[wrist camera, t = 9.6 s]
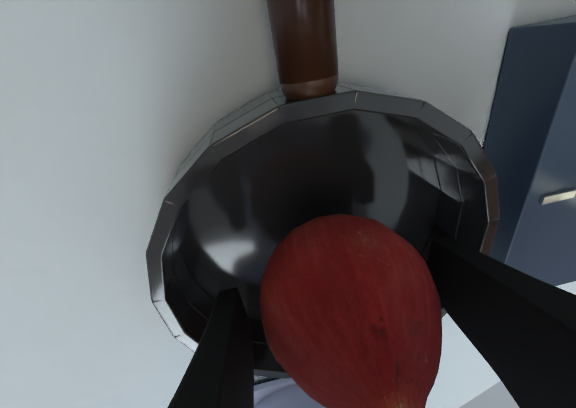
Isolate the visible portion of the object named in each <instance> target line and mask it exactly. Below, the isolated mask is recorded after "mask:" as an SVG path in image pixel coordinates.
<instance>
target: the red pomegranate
mask: <svg viewBox="0 0 576 408" xmlns="http://www.w3.org/2000/svg"><path fill="white" fill-rule="evenodd" d="M259 305H260V312H261V319H262V324H263V329H264V333H265V337H266V342H267V344H268V346H269V348H270V350H271V352H272V354H273V356H274V357H275V359H276V361H277V362H278V363H279V364H280V365H281V366H282V368H283V369H284V370H285V371H286V372H287V373H288V375H289V376H290V377H291V378H292V379H293V380H294V381H295V383H296V384H297V385H298V386H299V387H300V388H301V389H302V390H303V391H304V392H305V393H306V394H307V395H308V396H309V397H310V398H312V399H313V400H315V401H316V402H318V403H319V404H321V405H322V406H324V407H326V408H425V405H426V401H427V397H428V395H429V393H430V391H431V389H432V387H433V385H434V382H435V379H436V376H437V373H438V369H439V363H440V357H441V347H442V318H441V299H440V297H439V294H438V291H437V289H436V286H435V283H434V281H433V278H432V276H431V273H430V271H429V269H428V267H427V265H426V262H425V260H424V259H423V257H422V256H421V255H420V254H419V253H418V251H417V250H416V249H415V248H414V247H413V245H412V244H411V243H409V242H408V241H407V240H405V239H404V238H402V237H401V236H400V235H398V234H397V233H395V232H394V231H393V230H391V229H390V228H388V227H387V226H385V225H383V224H382V223H380V222H379V221H377V220H374V219H369V218H364V217H359V216H354V215H348V214H341V213H340V214H334V215H327V216H321V217H316V218H314V219H312V220H310V221H308V222H306V223H304V224H302V225H300V226H298V227H296V228H294V229H293V230H292V231H291V232H290V233H289V234H288V235H287V236H286V237H285V238H284V239H283V240H282V241H281V242H280V243H279V244H278V245H277V246H276V248H275V249H274V251H273V253H272V255H271V257H270V259H269V261H268V264H267V266H266V269H265V271H264V274H263V277H262V279H261V283H260V297H259Z"/></svg>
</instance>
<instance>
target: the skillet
mask: <svg viewBox="0 0 576 408" xmlns="http://www.w3.org/2000/svg"><path fill="white" fill-rule="evenodd" d="M340 213H341V214H348V215H354V216H359V217H364V218H369V219H374V220H377V221H379V222H380V223H382V224H383V225H385V226H387V227H388V228H390V229H391V230H393V231H394V232H395V233H397V234H398V235H400V236H401V237H402V238H404V239H405V240H407V241H408V242H409V243H411V244H412V245H413V247H414V248H415V249H416V250H417V251H418V253H419V254H420V255H421V256H422V257H423V259H424V260H425V262H426V265H428V258H429V252H430V245H431V240H434V239H438V238H443V237H449V238H451V239H454V240H456V241H458V242H460V243H462V244H465V245H467V246H469V247H471V248H473V249H475V250H477V251H479V252H481V253H483V254H485V255H487V256H489V254H490V250H491V247H492V244H493V240H494V237H495V233H496V230H497V227H498V223H499V220H500V218H499V217H500V208H499V196H498V183H497V174H496V171H495V170H494V168H493V166H492V165H491V163H490V161H489V159H488V158H487V156H486V154H485V153H484V151H483V149H482V147H481V146H480V144H479V142H478V141H477V139H476V137H475V135H474V134H473V133H472V131H471V130H469V129H468V128H466V127H465V126H463V125H462V124H460V123H458V122H457V121H455V120H454V119H452V118H451V117H449V116H448V115H446V114H445V113H443V112H441V111H440V110H438V109H437V108H435V107H434V106H432V105H431V104H429V103H428V102H426V101H423V100H420V99H416V98H412V97H408V96H404V95H400V94H396V93H392V92H388V91H384V90H380V89H375V88H368V87H362V86H356V85H350V84H344V83H337V87H336V89H335V91H334V92H332V93H330V94H327V95H323V96H319V97H314V98H308V99H297V100H292V99H287V98H286V97H285V96H284V94H283V92H282V90H278V91H273V92H269V93H266V94H264V95H263V96H261V97H259V98H257V99H255V100H252V101H250V102H248V103H247V104H245V105H243V106H242V107H240V108H239V109H237V110H235V111H234V112H232V113H230V114H229V115H228V116H226V117H225V118H223V119H222V120H220V121H218V122H217V124H215V125H214V126H213V127H212V128H211V129H210V131H209V132H208V133H207V134H206V135H205V136H204V137H203V138H202V139H201V141H200V142H199V143H198V144H197V145H196V146H195V148H194V149H193V151H192V152H191V153H190V154H189V156H188V157H187V158H186V159H185V160H184V162H183V163H182V164H181V166H180V167H179V169H178V171H177V173H176V175H175V177H174V179H173V182H172V183H171V185H170V187H169V189H168V191H167V193H166V195H165V197H164V199H163V202H162V205H161V208H160V211H159V214H158V217H157V220H156V223H155V226H154V229H153V232H152V235H151V238H150V241H149V244H148V247H147V250H146V261H147V269H148V277H149V286H150V294H151V300H152V303H153V305H154V306H155V308H156V309H157V311H158V313H159V314H160V316H161V317H162V319H163V321H164V322H165V324H166V325H167V327H168V329H169V330H170V332H171V333H172V335H173V336H174V337H175V338H176V339H177V340H179V341H180V342H181V343H183V344H184V345H185V346H187V347H188V348H189V349H191V350H192V351H193V352H195V351H196V349H197V346H198V344H199V342H200V339H201V337H202V335H203V332H204V330H205V327H206V325H207V322H208V320H209V317H210V315H211V312H212V309H213V306H214V304H215V301H216V298H217V295H218V293H219V292H220V291H223V290H228V289H232V288H236V287H237V288H238V291H239V294H240V296H241V299H242V302H243V304H244V307H245V310H246V313H247V315H248V318H249V321H250V323H251V332H252V341H253V352H254V375H255V376H264V377H274V378H285V379H287V378H291V377H290V376H289V375H288V373H287V372H286V371H285V370H284V369H283V368H282V366H281V365H280V364H279V363H278V362H277V361H276V359H275V357H274V356H273V354H272V352H271V350H270V348H269V346H268V344H267V342H266V337H265V333H264V329H263V324H262V319H261V312H260V305H259V297H260V283H261V279H262V277H263V274H264V271H265V269H266V266H267V264H268V261H269V259H270V257H271V255H272V253H273V251H274V249H275V248H276V246H277V245H278V244H279V243H280V242H281V241H282V240H283V239H284V238H285V237H286V236H287V235H288V234H289V233H290V232H291V231H292V230H293V229H294V228H296V227H298V226H300V225H302V224H304V223H306V222H308V221H310V220H312V219H314V218H316V217H321V216H327V215H334V214H340ZM446 313H447V312H446V310H445V309H444V308H443V307H442V305H441V318H442V317H443V316H444V315H445V314H446Z"/></svg>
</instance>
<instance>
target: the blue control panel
mask: <svg viewBox="0 0 576 408" xmlns="http://www.w3.org/2000/svg"><path fill="white" fill-rule="evenodd" d="M483 151H484V153H485V154H486V156H487V158H488V159H489V161H490V163H491V165H492V166H493V168H494V170H495V171H496V174H497V183H498V196H499V208H500V217H499V218H500V220H499V223H498V227H497V230H496V233H495V237H494V240H493V244H492V247H491V250H490V254H489V257H491V258H493V259H496V260H498V261H500V262H502V263H504V264H506V265H508V266H510V267H512V268H515V269H517V270H519V271H521V272H523V273H525V274H528V275H530V276H532V277H534V278H537V279H539V280H541V281H543V282H546V283H548V284H550V285H553V286H558V285H561V284H565V283H569V282H573V281H576V15H575V16H570V17H565V18H560V19H554V20H549V21H544V22H539V23H534V24H529V25H523V26H518V27H513V28H511V29H510V32H509V36H508V41H507V45H506V50H505V55H504V59H503V64H502V68H501V73H500V77H499V82H498V86H497V91H496V95H495V100H494V104H493V109H492V113H491V118H490V122H489V127H488V131H487V136H486V141H485V145H484V150H483Z"/></svg>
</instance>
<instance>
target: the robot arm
mask: <svg viewBox="0 0 576 408" xmlns="http://www.w3.org/2000/svg"><path fill="white" fill-rule="evenodd" d="M427 267H428V269H429V271H430V273H431V276H432V278H433V281H434V283H435V286H436V289H437V291H438V294H439V297H440V299H441V305H442V307H443V308H444V309H445V310H446V312H447V313H448V314H449V315H450V317H451V318H452V319H453V320H454V322H455V323H456V324H457V325H458V327H459V328H460V329H461V330H462V332H463V333H464V334H465V335H466V337H467V338H468V339H469V340H470V341H471V343H472V344H473V345H474V346H475V348H476V349H477V350H478V351H479V352H480V354H481V355H482V356H483V357H484V359H485V360H486V361H487V362H488V364H489V365H490V366H491V368H492V369H493V370H494V371H495V373H496V374H497V375H498V377H499V378H500V380H501V381H502V382H503V384H504V385H505V387H506V388H507V390H508V391H509V393H510V394H511V396H512V397H513V398H514V400H515V401H516V403H517V404H518V406H519V407H520V408H576V295H574V294H572V293H569V292H567V291H565V290H562V289H560V288H558V287H555V286H553V285H550V284H548V283H546V282H543V281H541V280H539V279H537V278H534V277H532V276H530V275H528V274H525V273H523V272H521V271H519V270H517V269H515V268H512V267H510V266H508V265H506V264H504V263H502V262H500V261H498V260H496V259H493V258H491V257H489V256H487V255H485V254H483V253H481V252H479V251H477V250H475V249H473V248H471V247H469V246H467V245H465V244H462V243H460V242H458V241H456V240H454V239H451V238H449V237H443V238H438V239H434V240H431V245H430V252H429V258H428V265H427ZM168 408H326V407H324V406H322V405H321V404H319V403H318V402H316V401H315V400H313V399H312V398H310V397H309V396H308V395H307V394H306V393H305V392H304V391H303V390H302V389H301V388H300V387H299V386H298V385H297V384H296V383H295V381H294V380H293V379H292V378H287V379H285V378H280V379H276V380H272V381H269V382H265V383H261V384H257V385H254V352H253V341H252V332H251V323H250V321H249V318H248V315H247V313H246V310H245V307H244V304H243V302H242V299H241V296H240V294H239V291H238V288H237V287H236V288H232V289H228V290H223V291H220V292H219V293H218V295H217V298H216V301H215V304H214V306H213V309H212V312H211V315H210V317H209V320H208V322H207V325H206V327H205V330H204V332H203V335H202V337H201V339H200V342H199V344H198V346H197V349H196V351H195V353H194V355H193V358H192V360H191V362H190V364H189V366H188V368H187V370H186V372H185V374H184V376H183V378H182V381H181V383H180V385H179V387H178V389H177V391H176V393H175V395H174V397H173V398H172V400H171V402H170V404H169V406H168Z"/></svg>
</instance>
